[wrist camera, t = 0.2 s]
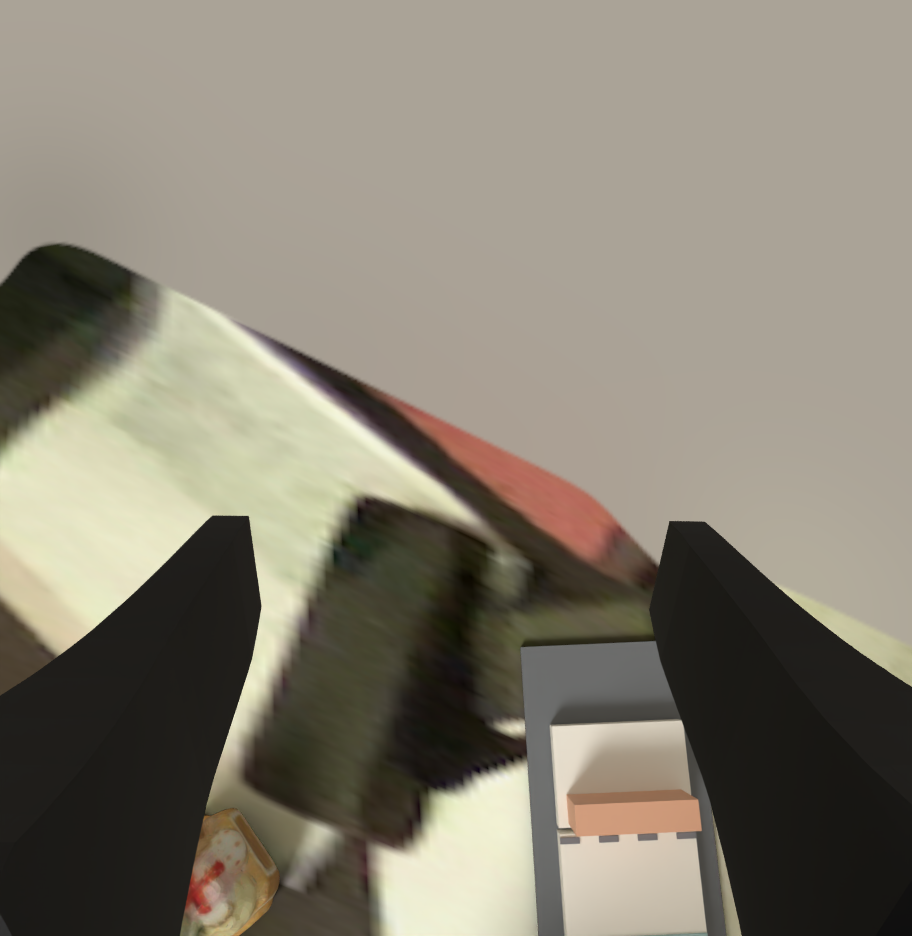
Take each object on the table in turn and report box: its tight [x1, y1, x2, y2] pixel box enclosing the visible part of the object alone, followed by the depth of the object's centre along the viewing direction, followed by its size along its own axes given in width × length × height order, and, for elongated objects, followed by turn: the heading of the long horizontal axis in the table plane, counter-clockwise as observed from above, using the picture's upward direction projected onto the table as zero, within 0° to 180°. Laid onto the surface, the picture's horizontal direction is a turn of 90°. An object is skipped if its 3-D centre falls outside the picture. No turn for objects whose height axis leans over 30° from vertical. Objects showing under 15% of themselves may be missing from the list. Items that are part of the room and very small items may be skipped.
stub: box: [550, 719, 702, 837], centre depth 39 cm, size 5×7×4 cm
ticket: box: [557, 829, 708, 936], centre depth 39 cm, size 8×7×1 cm
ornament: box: [180, 808, 280, 936], centre depth 35 cm, size 8×6×10 cm
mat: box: [520, 641, 726, 936], centre depth 41 cm, size 18×10×1 cm, turn 2°
